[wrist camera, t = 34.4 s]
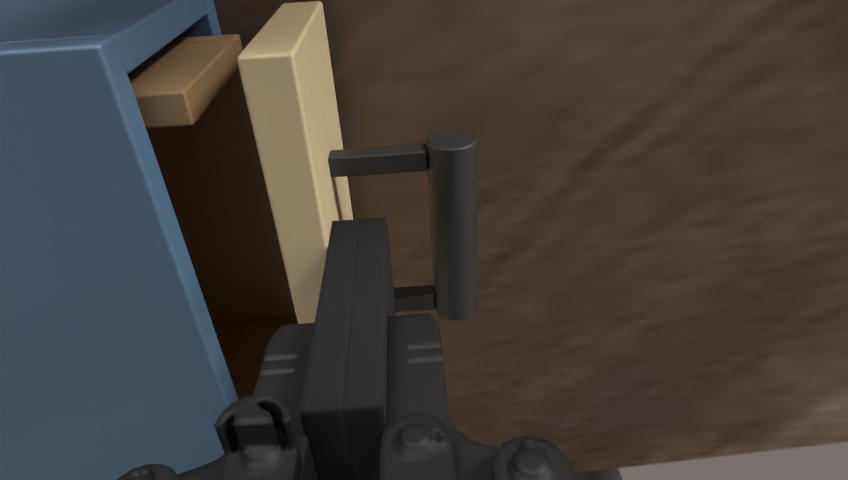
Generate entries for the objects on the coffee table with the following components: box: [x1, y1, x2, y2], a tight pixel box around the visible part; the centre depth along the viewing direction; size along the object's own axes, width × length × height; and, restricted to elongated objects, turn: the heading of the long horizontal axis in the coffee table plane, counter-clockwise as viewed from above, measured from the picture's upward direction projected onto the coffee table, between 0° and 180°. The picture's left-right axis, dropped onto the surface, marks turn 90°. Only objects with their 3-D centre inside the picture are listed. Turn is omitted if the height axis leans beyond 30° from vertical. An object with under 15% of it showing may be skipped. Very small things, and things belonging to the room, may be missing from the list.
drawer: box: [128, 1, 478, 400], centre depth 17 cm, size 18×12×6 cm
